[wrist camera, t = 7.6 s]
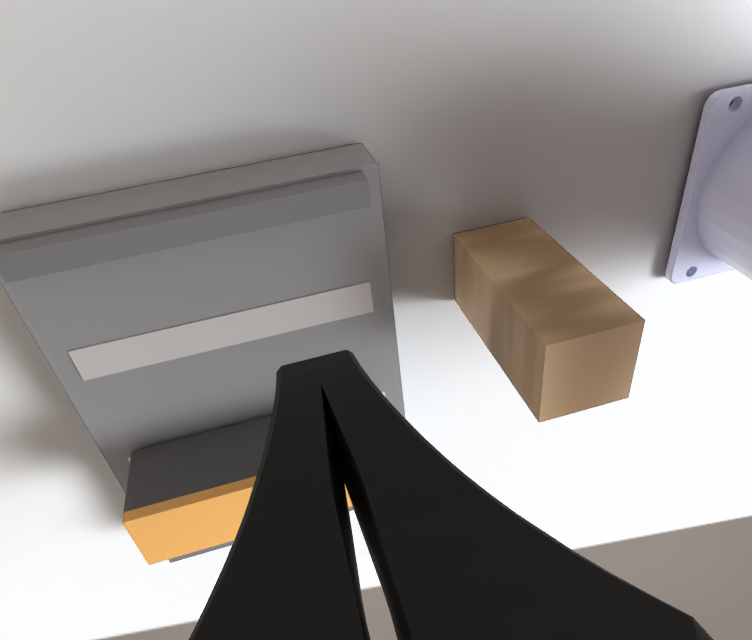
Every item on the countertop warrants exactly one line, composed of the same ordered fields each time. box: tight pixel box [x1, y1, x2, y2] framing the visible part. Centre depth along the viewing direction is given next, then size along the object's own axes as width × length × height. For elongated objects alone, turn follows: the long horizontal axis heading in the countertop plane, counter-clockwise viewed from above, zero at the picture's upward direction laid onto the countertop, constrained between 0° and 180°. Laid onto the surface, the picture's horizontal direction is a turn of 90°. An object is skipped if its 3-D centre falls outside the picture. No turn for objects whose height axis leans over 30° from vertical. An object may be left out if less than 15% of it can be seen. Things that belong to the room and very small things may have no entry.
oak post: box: [453, 217, 645, 422], centre depth 19 cm, size 3×3×7 cm
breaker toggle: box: [122, 415, 353, 565], centre depth 20 cm, size 9×2×3 cm, turn 97°
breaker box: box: [0, 143, 405, 563], centre depth 21 cm, size 11×15×3 cm
